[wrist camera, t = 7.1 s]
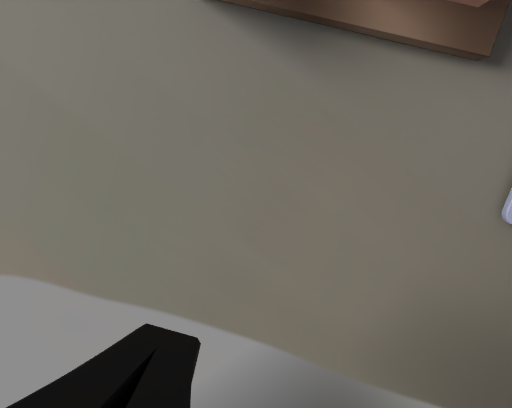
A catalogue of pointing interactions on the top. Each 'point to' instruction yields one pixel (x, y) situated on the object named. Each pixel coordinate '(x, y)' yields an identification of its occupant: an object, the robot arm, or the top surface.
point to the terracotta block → (471, 2)
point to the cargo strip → (403, 21)
